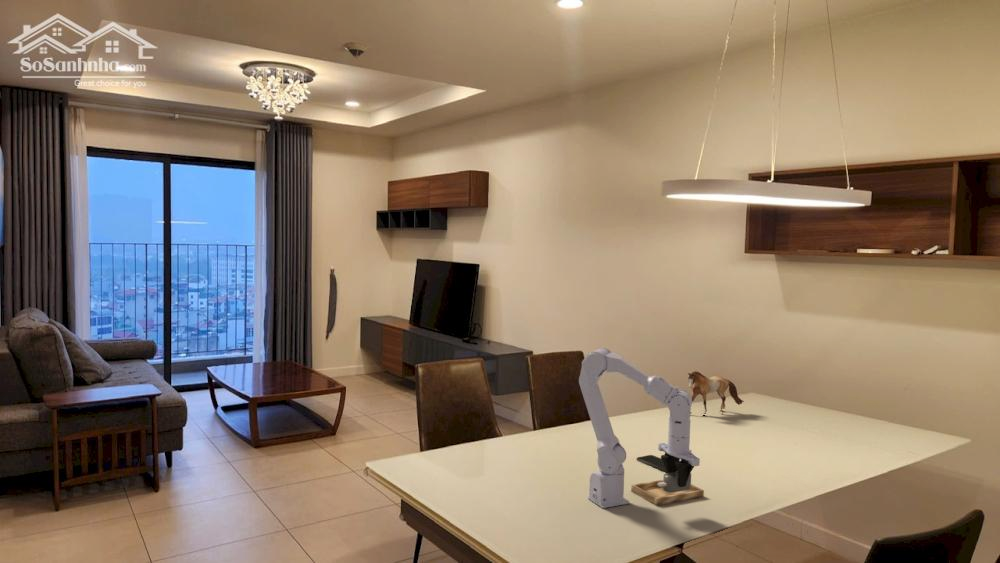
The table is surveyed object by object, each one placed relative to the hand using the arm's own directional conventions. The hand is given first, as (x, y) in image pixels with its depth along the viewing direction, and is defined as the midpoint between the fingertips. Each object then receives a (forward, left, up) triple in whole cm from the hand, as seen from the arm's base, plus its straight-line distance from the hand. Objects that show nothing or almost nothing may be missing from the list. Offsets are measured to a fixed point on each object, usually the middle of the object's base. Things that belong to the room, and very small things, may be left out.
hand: (677, 483), depth 173 cm
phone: (+22, +34, -9) cm, 41 cm away
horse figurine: (+90, +78, -9) cm, 119 cm away
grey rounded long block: (0, 0, -2) cm, 2 cm away
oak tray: (+7, +12, -8) cm, 16 cm away
